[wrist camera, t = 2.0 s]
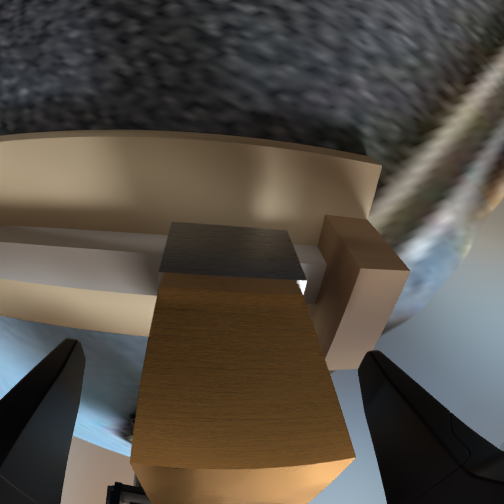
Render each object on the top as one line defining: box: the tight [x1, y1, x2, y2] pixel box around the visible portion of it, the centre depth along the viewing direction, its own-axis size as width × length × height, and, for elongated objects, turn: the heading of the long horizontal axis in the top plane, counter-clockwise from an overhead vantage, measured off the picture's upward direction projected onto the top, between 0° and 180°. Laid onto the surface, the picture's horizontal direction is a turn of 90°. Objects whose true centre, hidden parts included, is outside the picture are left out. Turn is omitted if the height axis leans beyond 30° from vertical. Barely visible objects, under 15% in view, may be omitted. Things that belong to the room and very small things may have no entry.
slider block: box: [130, 222, 356, 504], centre depth 9 cm, size 5×4×8 cm
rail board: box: [0, 130, 410, 370], centre depth 12 cm, size 10×24×6 cm, turn 82°
